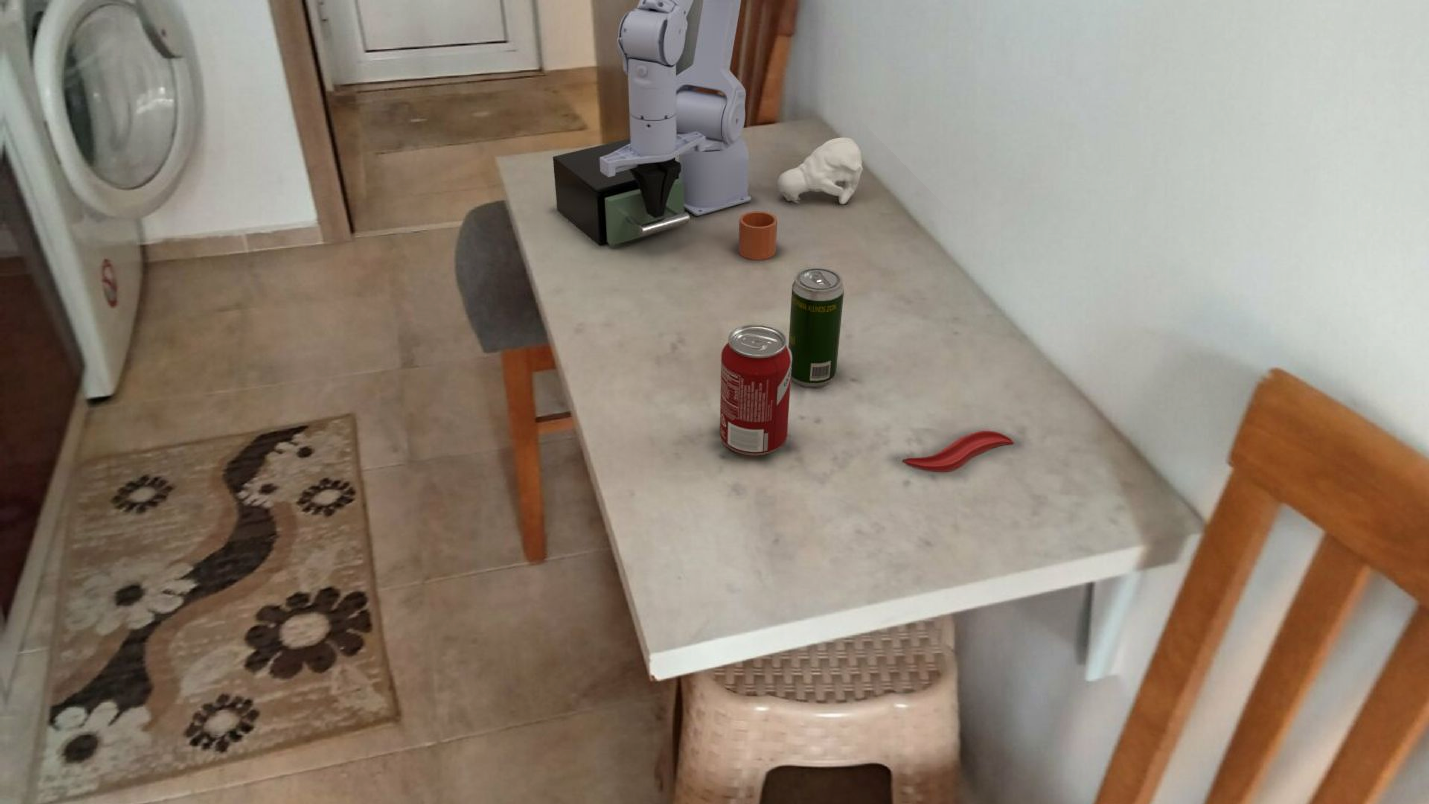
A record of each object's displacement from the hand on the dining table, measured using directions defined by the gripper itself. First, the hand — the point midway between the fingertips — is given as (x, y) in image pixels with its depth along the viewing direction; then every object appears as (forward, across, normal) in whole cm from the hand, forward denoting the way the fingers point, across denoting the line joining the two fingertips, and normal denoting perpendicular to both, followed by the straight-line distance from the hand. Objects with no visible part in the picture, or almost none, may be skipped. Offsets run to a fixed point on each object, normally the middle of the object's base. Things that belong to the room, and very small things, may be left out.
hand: (655, 214), depth 139 cm
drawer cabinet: (+5, 0, -10) cm, 11 cm away
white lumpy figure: (+5, -27, +1) cm, 27 cm away
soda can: (+5, +15, +40) cm, 43 cm away
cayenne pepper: (+5, -1, +54) cm, 54 cm away
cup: (+5, -10, +9) cm, 14 cm away
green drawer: (+4, 0, -5) cm, 7 cm away
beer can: (+5, +2, +35) cm, 35 cm away
